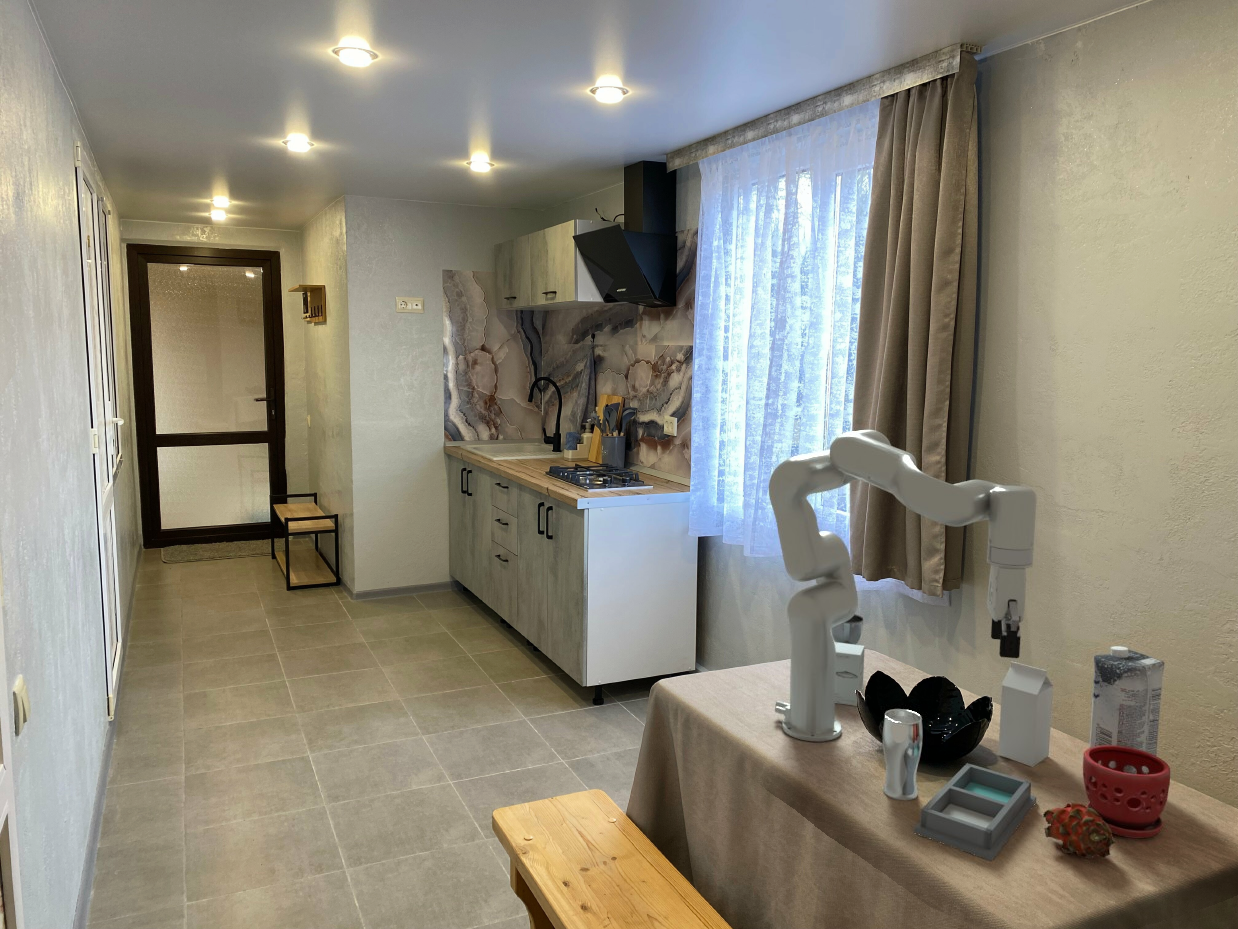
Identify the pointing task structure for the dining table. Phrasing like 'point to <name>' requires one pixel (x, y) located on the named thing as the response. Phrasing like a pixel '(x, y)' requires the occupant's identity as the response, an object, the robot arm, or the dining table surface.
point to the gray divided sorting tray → (976, 811)
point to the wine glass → (848, 631)
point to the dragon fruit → (1079, 830)
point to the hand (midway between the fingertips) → (1004, 647)
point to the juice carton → (1126, 702)
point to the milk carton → (1025, 714)
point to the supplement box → (848, 672)
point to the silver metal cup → (901, 752)
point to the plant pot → (1126, 789)
